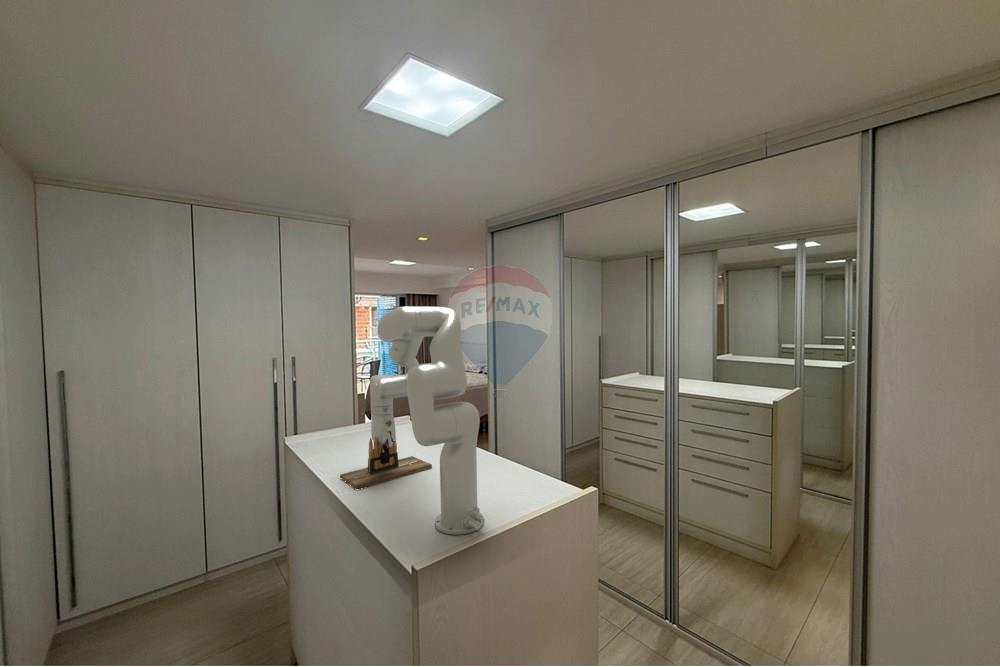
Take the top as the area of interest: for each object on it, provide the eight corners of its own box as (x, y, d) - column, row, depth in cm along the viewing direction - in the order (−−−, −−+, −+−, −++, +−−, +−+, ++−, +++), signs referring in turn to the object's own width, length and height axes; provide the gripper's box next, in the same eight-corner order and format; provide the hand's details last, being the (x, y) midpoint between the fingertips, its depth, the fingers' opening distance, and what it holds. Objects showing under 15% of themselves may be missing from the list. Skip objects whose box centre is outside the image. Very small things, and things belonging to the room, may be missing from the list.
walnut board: (431, 468, 149) (431, 464, 149) (357, 490, 130) (357, 485, 130) (412, 459, 159) (412, 455, 159) (340, 478, 141) (340, 474, 141)
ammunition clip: (370, 473, 139) (369, 438, 139) (367, 472, 141) (366, 437, 141) (398, 466, 147) (397, 433, 146) (396, 465, 148) (395, 432, 148)
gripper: (402, 411, 140) (404, 465, 140) (381, 405, 152) (383, 455, 152) (382, 415, 135) (383, 470, 135) (362, 408, 147) (363, 460, 147)
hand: (383, 462), depth 144 cm, fingers closed on ammunition clip, 2 cm apart
